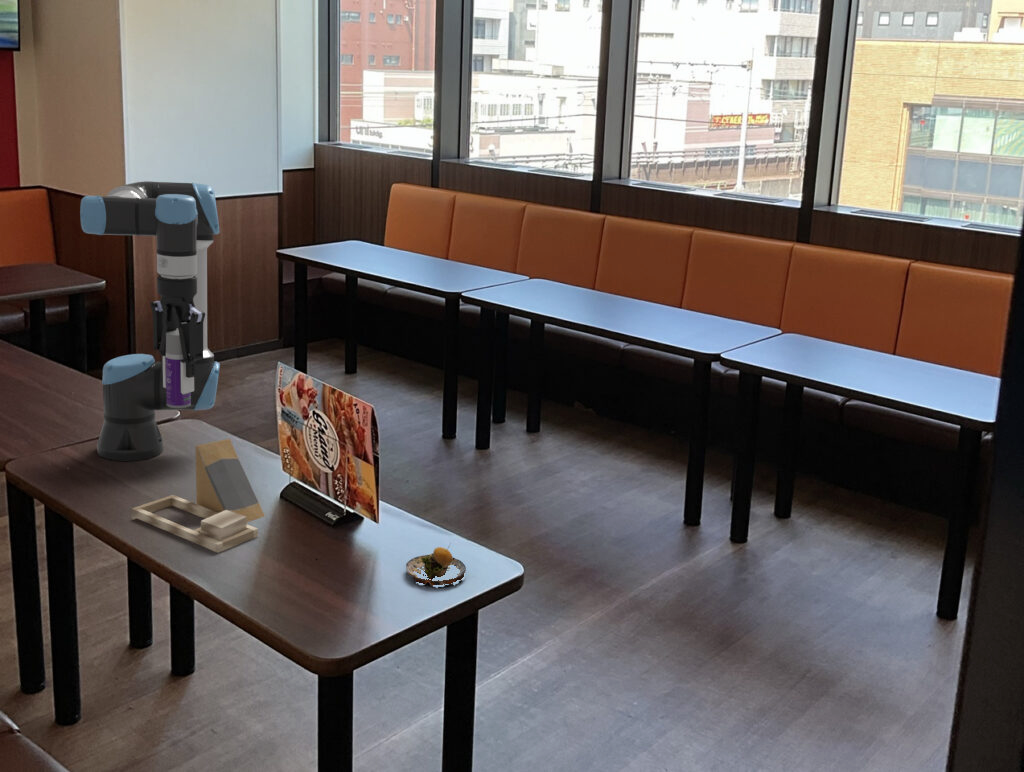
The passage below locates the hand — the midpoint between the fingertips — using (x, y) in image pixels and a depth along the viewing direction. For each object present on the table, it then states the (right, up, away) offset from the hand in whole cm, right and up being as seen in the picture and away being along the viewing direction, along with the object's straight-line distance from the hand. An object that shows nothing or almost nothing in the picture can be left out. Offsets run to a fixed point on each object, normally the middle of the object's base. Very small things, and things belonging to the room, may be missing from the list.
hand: (178, 388), depth 217 cm
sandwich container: (+8, -28, +11) cm, 31 cm away
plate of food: (+52, -37, -8) cm, 64 cm away
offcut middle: (+10, -30, -2) cm, 31 cm away
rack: (+2, -29, +3) cm, 29 cm away
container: (0, -3, +1) cm, 4 cm away
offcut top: (+10, -28, -3) cm, 29 cm away
